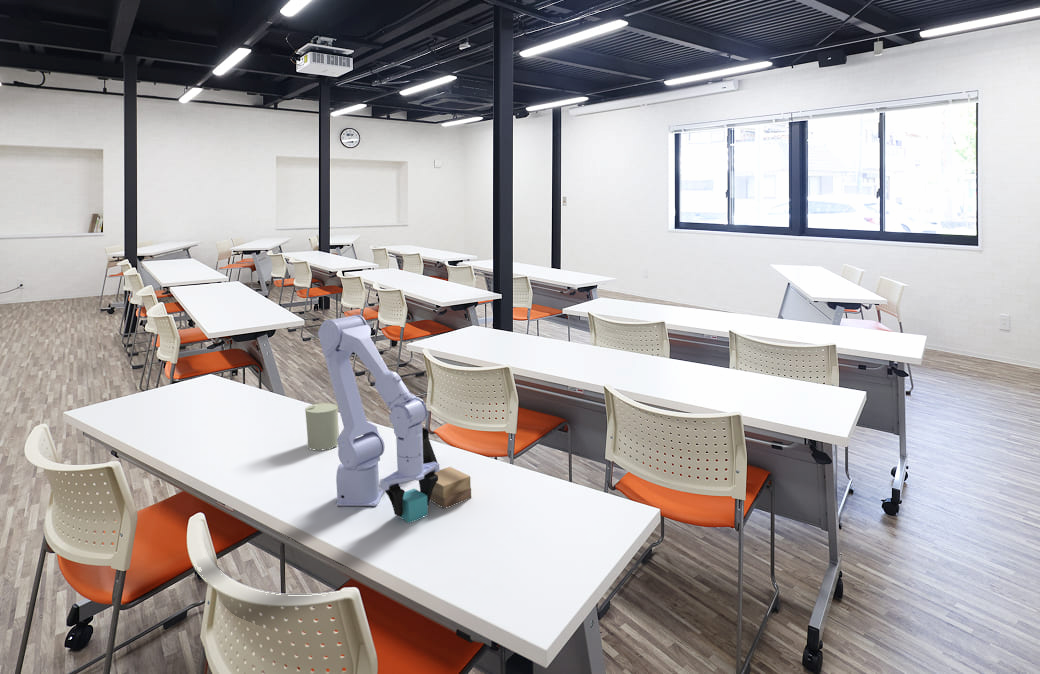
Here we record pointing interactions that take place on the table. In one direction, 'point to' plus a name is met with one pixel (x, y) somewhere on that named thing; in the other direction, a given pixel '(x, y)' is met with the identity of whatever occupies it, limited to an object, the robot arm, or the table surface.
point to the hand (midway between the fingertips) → (412, 509)
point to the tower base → (451, 498)
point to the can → (322, 425)
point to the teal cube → (414, 505)
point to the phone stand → (427, 448)
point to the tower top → (451, 482)
